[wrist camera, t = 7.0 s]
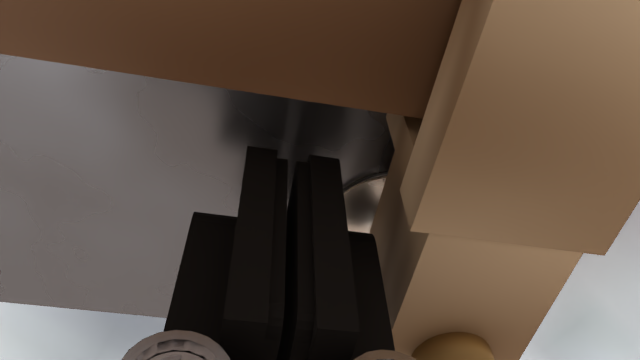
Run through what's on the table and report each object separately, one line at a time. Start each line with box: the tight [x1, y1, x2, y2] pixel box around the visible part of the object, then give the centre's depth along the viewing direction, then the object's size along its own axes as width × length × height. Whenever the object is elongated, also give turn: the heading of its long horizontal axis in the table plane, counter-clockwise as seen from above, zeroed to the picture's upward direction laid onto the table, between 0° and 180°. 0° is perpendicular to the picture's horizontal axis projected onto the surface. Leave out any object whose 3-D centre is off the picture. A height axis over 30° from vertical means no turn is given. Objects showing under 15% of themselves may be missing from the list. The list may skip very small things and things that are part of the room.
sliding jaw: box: [370, 0, 640, 360], centre depth 9 cm, size 10×3×3 cm, turn 169°
